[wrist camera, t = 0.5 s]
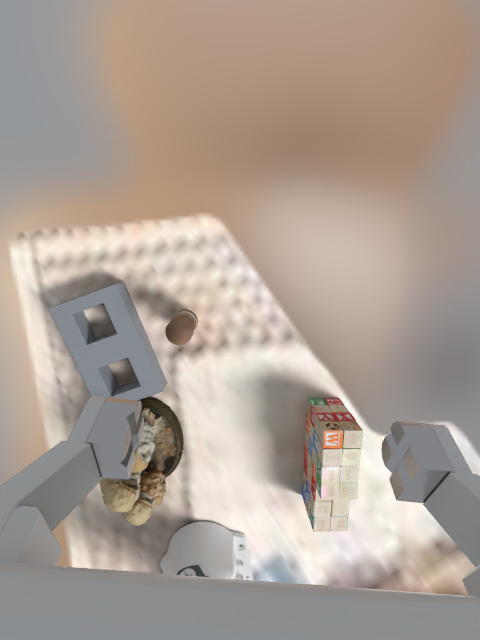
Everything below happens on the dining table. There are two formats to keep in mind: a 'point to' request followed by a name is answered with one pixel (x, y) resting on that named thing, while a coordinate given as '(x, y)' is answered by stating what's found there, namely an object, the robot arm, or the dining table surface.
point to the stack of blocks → (330, 463)
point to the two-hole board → (110, 345)
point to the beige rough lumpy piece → (147, 465)
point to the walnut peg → (181, 327)
